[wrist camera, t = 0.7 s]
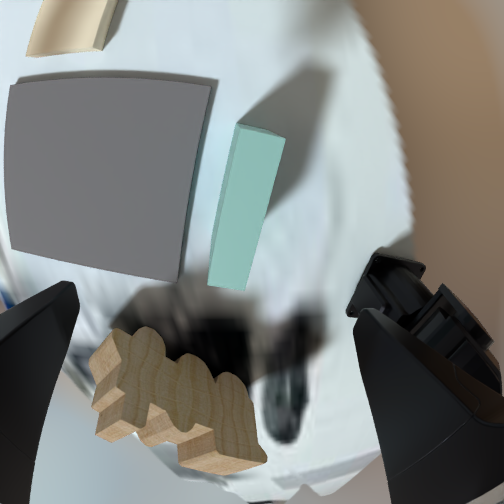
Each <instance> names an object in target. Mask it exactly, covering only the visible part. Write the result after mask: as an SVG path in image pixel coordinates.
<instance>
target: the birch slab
mask: <svg viewBox="0 0 504 504" xmlns="http://www.w3.org/2000/svg"><path fill="white" fill-rule="evenodd" d="M117 3H118V0H43V2H42V5H41V8H40V10H39V13H38V16H37V19H36V22H35V25H34V28H33V31H32V34H31V37H30V41H29V45H28V48H27V52H26V56H27V57H35V58H39V57H45V56H52V55H59V54H68V53H79V52H93V51H102V50H103V46H104V43H105V39H106V36H107V32H108V29H109V26H110V23H111V20H112V17H113V14H114V11H115V8H116V5H117Z"/></svg>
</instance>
